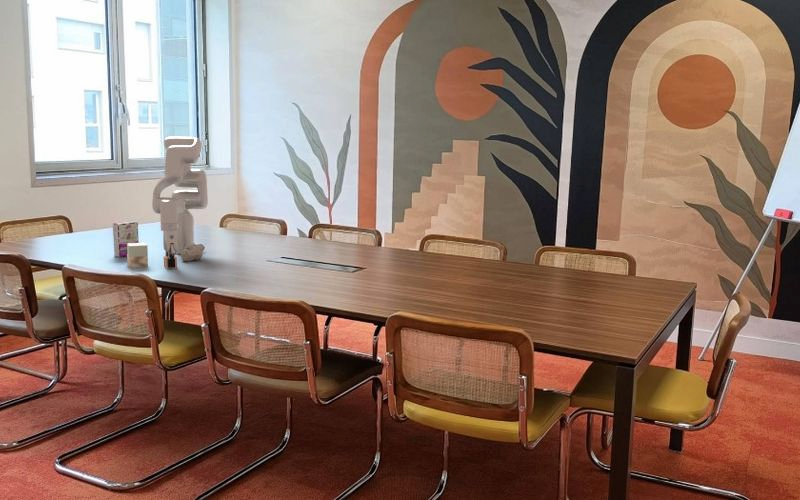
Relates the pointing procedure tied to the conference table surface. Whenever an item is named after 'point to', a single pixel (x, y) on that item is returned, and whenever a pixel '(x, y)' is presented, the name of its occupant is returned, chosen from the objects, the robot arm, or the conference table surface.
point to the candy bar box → (124, 237)
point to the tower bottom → (137, 261)
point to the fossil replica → (192, 252)
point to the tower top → (137, 249)
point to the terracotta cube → (167, 262)
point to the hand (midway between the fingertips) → (170, 265)
